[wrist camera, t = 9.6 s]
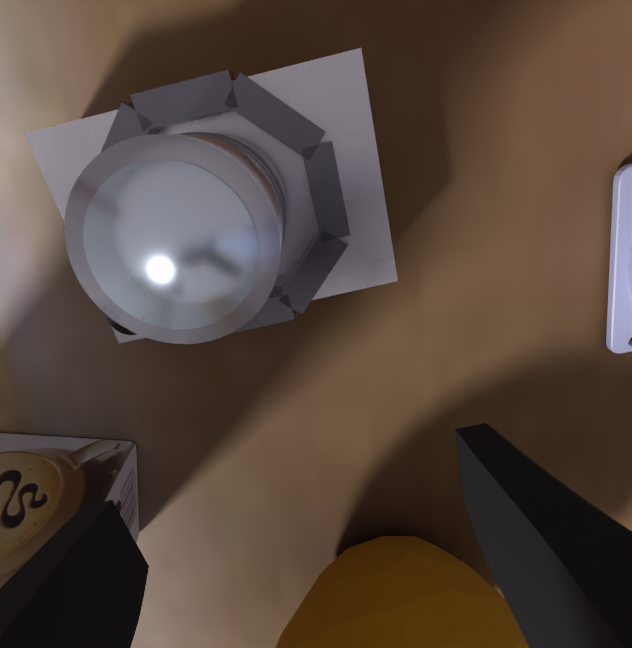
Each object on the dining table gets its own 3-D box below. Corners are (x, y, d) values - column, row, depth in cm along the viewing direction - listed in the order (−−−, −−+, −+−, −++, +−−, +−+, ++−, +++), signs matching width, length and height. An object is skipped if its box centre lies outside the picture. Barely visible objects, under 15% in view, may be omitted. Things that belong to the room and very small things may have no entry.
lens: (278, 124, 13) (264, 116, 8) (295, 259, 15) (295, 337, 9) (139, 141, 13) (23, 145, 8) (172, 274, 15) (96, 360, 9)
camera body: (348, 57, 15) (365, 34, 11) (383, 261, 18) (405, 294, 14) (69, 128, 16) (0, 127, 12) (146, 314, 19) (109, 360, 15)
